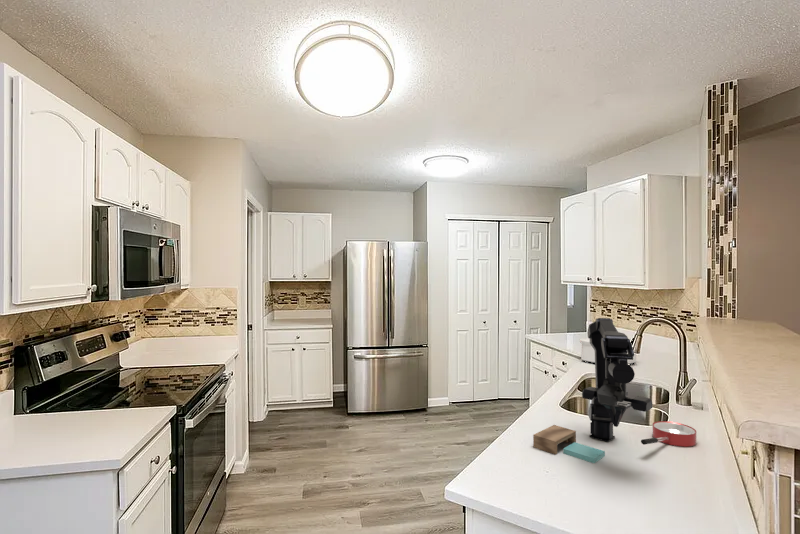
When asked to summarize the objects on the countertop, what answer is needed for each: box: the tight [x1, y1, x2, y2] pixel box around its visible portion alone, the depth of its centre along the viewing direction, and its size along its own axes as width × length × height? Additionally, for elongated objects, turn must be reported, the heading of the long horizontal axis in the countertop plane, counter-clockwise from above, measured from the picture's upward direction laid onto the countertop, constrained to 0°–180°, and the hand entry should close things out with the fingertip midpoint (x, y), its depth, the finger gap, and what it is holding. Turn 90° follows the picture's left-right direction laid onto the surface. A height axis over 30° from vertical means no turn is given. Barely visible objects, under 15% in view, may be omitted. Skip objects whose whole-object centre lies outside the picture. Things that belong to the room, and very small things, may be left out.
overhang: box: [532, 424, 577, 456], centre depth 146 cm, size 8×14×4 cm, turn 132°
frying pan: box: [640, 420, 697, 448], centre depth 144 cm, size 32×13×6 cm, turn 134°
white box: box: [579, 337, 637, 365], centre depth 279 cm, size 34×29×15 cm
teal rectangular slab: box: [562, 441, 606, 464], centre depth 139 cm, size 10×8×2 cm
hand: (615, 426), depth 131 cm, fingers closed
